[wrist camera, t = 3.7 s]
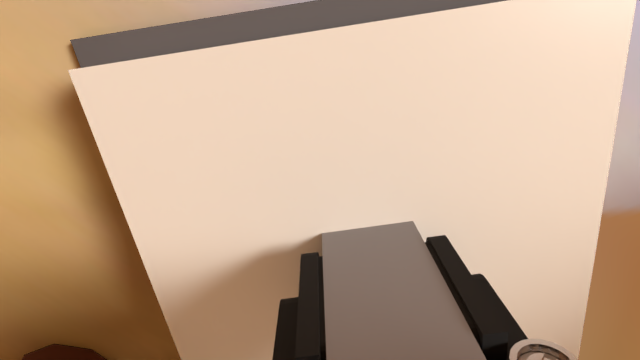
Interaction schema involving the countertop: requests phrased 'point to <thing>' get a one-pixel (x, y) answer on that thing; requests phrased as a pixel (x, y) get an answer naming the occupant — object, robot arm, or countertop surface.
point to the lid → (370, 174)
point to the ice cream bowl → (63, 353)
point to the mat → (250, 27)
